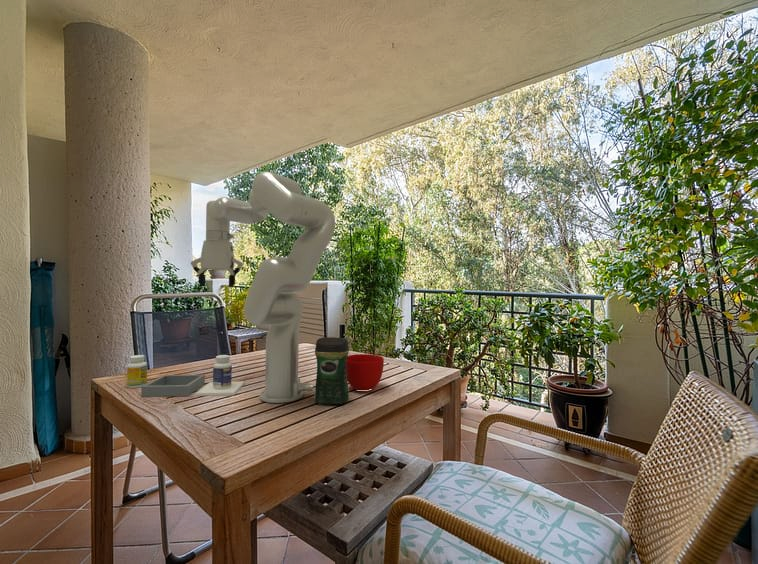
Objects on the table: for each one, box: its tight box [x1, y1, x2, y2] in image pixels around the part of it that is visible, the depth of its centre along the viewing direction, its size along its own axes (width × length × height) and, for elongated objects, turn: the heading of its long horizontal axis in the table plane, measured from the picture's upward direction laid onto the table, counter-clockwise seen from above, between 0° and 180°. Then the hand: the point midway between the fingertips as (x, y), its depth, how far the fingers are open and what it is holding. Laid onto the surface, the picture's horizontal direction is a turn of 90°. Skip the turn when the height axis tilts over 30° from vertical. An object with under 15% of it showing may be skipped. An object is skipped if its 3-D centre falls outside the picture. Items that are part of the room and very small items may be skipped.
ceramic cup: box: [346, 353, 385, 390], centre depth 119 cm, size 13×17×10 cm
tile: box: [194, 381, 246, 397], centre depth 113 cm, size 11×12×1 cm
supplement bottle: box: [126, 354, 148, 389], centre depth 116 cm, size 5×5×10 cm
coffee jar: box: [314, 336, 350, 405], centre depth 104 cm, size 10×8×19 cm
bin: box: [140, 374, 206, 398], centre depth 112 cm, size 13×13×3 cm
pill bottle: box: [212, 354, 233, 389], centre depth 113 cm, size 5×5×10 cm
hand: (216, 286), depth 125 cm, fingers open, 9 cm apart
